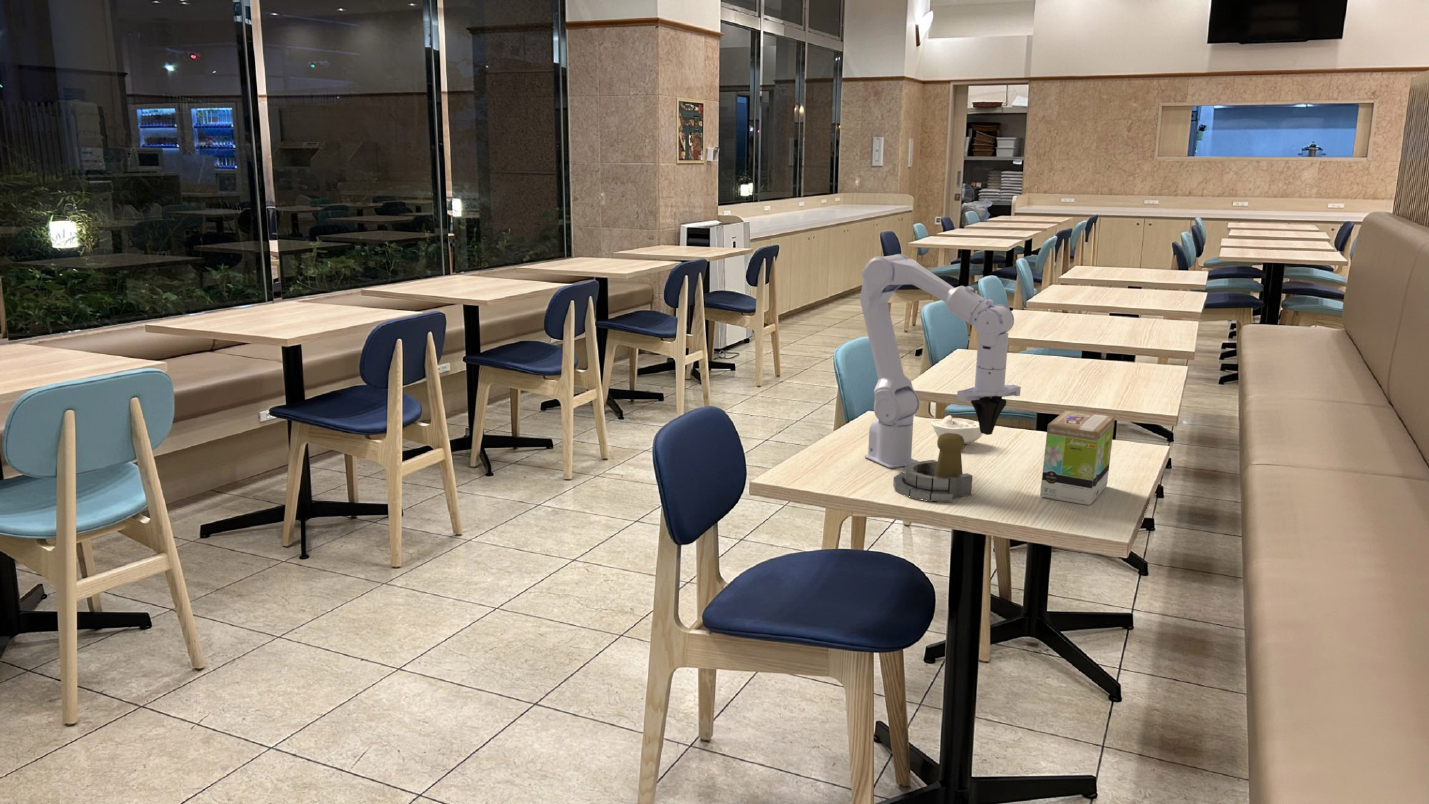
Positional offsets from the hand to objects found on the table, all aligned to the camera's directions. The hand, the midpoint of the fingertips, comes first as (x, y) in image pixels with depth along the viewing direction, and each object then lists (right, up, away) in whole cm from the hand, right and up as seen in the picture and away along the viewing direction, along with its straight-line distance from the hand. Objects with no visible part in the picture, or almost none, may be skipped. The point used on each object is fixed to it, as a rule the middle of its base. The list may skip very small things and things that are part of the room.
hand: (986, 433), depth 210 cm
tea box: (+16, -12, -4) cm, 20 cm away
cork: (-8, -11, -3) cm, 14 cm away
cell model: (+1, -4, +30) cm, 30 cm away
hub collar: (-13, -11, -5) cm, 18 cm away
